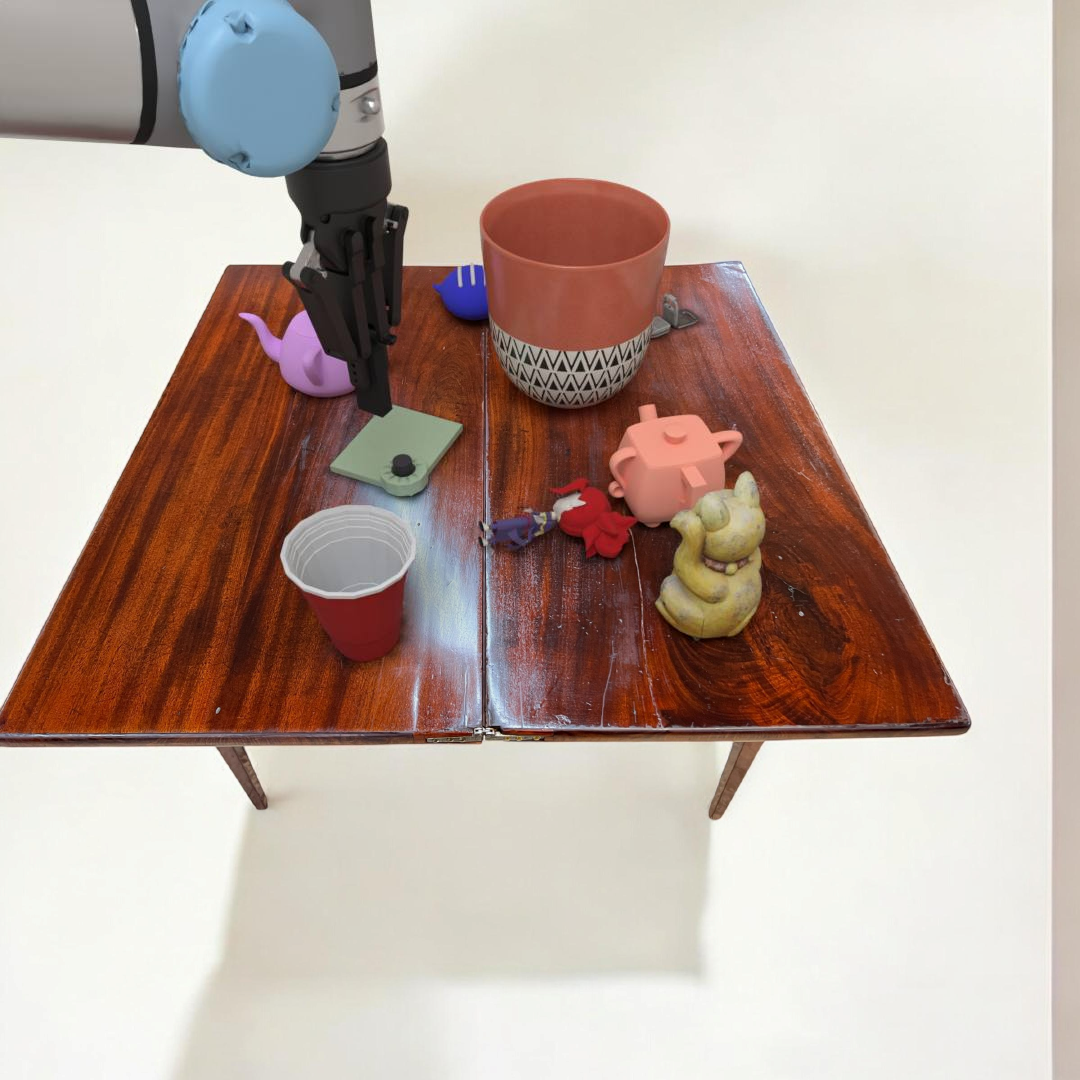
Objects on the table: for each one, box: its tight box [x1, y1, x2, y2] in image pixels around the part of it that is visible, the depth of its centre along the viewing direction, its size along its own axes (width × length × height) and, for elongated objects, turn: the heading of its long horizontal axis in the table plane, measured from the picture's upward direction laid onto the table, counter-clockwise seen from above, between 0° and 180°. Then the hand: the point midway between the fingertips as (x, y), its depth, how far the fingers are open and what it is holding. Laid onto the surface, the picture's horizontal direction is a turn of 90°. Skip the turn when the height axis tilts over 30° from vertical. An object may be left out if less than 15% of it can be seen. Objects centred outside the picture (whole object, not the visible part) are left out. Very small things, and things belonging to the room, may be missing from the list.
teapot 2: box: [608, 403, 744, 528], centre depth 86 cm, size 12×12×10 cm
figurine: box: [477, 477, 639, 559], centre depth 83 cm, size 6×8×15 cm
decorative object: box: [432, 262, 489, 321], centre depth 113 cm, size 10×6×10 cm
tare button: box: [392, 454, 413, 477], centre depth 89 cm, size 2×2×2 cm
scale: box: [329, 404, 464, 497], centre depth 93 cm, size 13×11×2 cm
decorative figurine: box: [654, 470, 766, 642], centre depth 74 cm, size 10×8×15 cm
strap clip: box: [650, 293, 700, 339], centre depth 111 cm, size 8×3×4 cm, turn 121°
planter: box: [478, 177, 672, 410], centre depth 95 cm, size 20×20×21 cm
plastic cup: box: [279, 504, 417, 662], centre depth 73 cm, size 11×11×12 cm
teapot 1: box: [238, 309, 355, 398], centre depth 101 cm, size 12×14×9 cm
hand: (375, 408), depth 77 cm, fingers closed
